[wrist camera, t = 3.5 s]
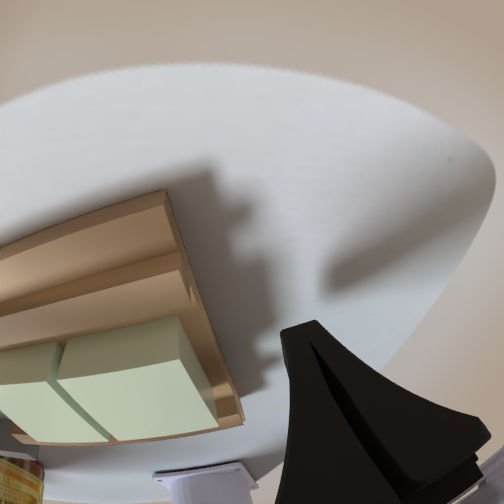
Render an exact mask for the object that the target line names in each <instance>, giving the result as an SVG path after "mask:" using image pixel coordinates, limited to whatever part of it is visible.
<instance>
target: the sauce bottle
mask: <svg viewBox="0 0 504 504" xmlns="http://www.w3.org/2000/svg"><path fill="white" fill-rule="evenodd" d="M44 475H45V472H44V469H43V467H42V466H41V465H39V464H38V463H37V462H35V461H34V460H27V459H19V458H13V457H7V456H1V455H0V504H42V500H43V491H44V483H43V480H44Z"/></svg>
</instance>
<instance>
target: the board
mask: <svg viewBox="0 0 504 504" xmlns="http://www.w3.org/2000/svg"><path fill="white" fill-rule="evenodd" d="M177 314H178V317H179V319H180V321H181V323H182V326H183V328H184V330H185V332H186V334H187V337H188V339H189V341H190V343H191V345H192V347H193V350H194V352H195V354H196V356H197V358H198V360H199V362H200V364H201V366H202V368H203V370H204V372H205V374H206V376H207V378H208V380H209V382H210V384H211V386H212V389H213V395H214V400H215V406H216V412H217V417H218V423H219V427H214V428H209V429H204V430H199V431H194V432H188V433H182V434H175V435H169V436H161V437H154V438H145V439H135V440H124V441H118V440H117V439H116V438H115V437H114V436H112V435H111V434H109V442H87V443H55V442H37V441H36V440H35V439H33V438H32V437H31V436H30V435H28V434H27V433H26V432H25V431H23V430H22V429H21V428H20V427H19V426H17V425H16V424H15V423H14V422H13V425H12V429H11V435H13V436H14V437H15V438H16V439H18V440H19V441H20V442H22V443H23V444H35V445H54V446H96V445H116V444H130V443H141V442H150V441H159V440H166V439H173V438H180V437H186V436H192V435H198V434H203V433H208V432H213V431H218V430H223V429H228V428H232V427H236V426H241V425H244V424H243V421H245V417H244V413H243V409H242V405H241V401H240V398H239V395H238V393H237V390H236V388H235V386H234V383H233V381H232V378H231V376H230V373H229V371H228V368H227V366H226V363H225V361H224V358H223V356H222V353H221V350H220V348H219V345H218V343H217V340H216V337H215V335H214V332H213V329H212V327H211V324H210V321H209V318H208V316H207V313H206V310H205V307H204V305H203V302H202V299H201V296H200V293H199V291H198V288H197V285H196V282H195V279H194V276H193V273H192V270H191V267H190V264H189V261H188V258H187V255H186V252H185V249H184V246H183V243H182V240H181V236H180V233H179V230H178V227H177V224H176V220H175V217H174V214H173V211H172V207H171V204H170V201H169V197H168V194H167V190H166V189H164V190H160V191H157V192H153V193H150V194H146V195H143V196H140V197H137V198H133V199H130V200H127V201H124V202H121V203H118V204H114V205H111V206H108V207H105V208H102V209H99V210H96V211H94V212H91V213H88V214H85V215H82V216H79V217H76V218H74V219H71V220H68V221H65V222H63V223H60V224H57V225H55V226H52V227H50V228H47V229H44V230H42V231H39V232H37V233H34V234H32V235H29V236H27V237H24V238H22V239H20V240H17V241H15V242H13V243H10V244H8V245H6V246H3V247H1V248H0V351H6V350H12V349H18V348H24V347H29V346H34V345H40V344H45V343H50V342H56V341H59V343H60V344H61V346H62V347H63V348H64V350H65V347H66V344H67V340H68V339H71V338H76V337H80V336H85V335H90V334H95V333H99V332H104V331H109V330H113V329H118V328H122V327H126V326H131V325H135V324H140V323H144V322H148V321H152V320H157V319H161V318H165V317H169V316H173V315H177Z"/></svg>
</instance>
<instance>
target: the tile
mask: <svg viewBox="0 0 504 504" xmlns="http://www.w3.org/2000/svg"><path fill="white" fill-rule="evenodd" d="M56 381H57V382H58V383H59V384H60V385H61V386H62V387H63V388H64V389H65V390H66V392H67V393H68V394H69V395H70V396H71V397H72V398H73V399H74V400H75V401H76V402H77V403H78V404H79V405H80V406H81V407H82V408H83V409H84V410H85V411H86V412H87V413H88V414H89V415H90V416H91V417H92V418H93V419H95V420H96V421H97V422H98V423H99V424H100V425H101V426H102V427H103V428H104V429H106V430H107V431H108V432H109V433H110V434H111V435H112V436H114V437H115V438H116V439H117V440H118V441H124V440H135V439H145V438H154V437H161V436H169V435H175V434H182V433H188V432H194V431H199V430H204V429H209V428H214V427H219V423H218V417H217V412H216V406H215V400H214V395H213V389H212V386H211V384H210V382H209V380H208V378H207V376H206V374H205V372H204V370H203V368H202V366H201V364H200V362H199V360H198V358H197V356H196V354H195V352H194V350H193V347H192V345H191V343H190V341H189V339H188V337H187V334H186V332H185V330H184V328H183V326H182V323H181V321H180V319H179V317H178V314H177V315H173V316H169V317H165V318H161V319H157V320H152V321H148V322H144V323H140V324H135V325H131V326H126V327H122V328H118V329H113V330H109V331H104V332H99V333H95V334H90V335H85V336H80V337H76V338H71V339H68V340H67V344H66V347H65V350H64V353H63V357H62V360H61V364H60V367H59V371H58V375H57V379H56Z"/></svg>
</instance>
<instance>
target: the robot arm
mask: <svg viewBox="0 0 504 504" xmlns="http://www.w3.org/2000/svg"><path fill="white" fill-rule="evenodd" d="M280 338H281V344H282V350H283V356H284V363H285V366H286V369H287V373H288V377H289V383H290V412H289V428H288V437H287V446H286V453H285V460H284V465H283V470H282V476H281V481H280V485H279V489H278V493H277V497H276V501H275V504H452V503H453V502H455V501H456V500H458V499H459V498H460V497H462V496H463V495H465V494H466V493H467V492H469V491H470V490H471V489H472V488H474V487H475V486H476V485H478V484H479V485H478V489H477V490H475V491H474V492H472V493H470V494H469V495H467V496H466V497H464V498H463V499H461V500H460V501H458V502H457V503H456V504H504V445H503V446H502V447H501V448H500V449H499V450H498V451H497V452H496V453H494V454H493V455H492V456H491V457H490V458H489V459H487V460H486V461H485V462H484V463H482V464H481V465H480V466H479V467H478V465H477V464H476V461H477V460H478V457H477V455H476V454H475V452H476V451H478V450H479V449H480V448H481V447H482V446H483V445H484V444H485V443H486V442H487V441H489V440H490V438H491V434H490V432H489V431H488V429H487V428H486V426H485V425H484V424H483V422H482V421H481V420H480V419H479V418H478V417H475V416H472V415H468V414H464V413H461V412H457V411H454V410H451V409H449V408H446V407H443V406H441V405H438V404H435V403H433V402H431V401H429V400H426V399H424V398H422V397H420V396H418V395H416V394H413V393H412V392H410V391H408V390H406V389H404V388H402V387H400V386H399V385H397V384H395V383H394V382H392V381H390V380H389V379H387V378H385V377H384V376H383V375H381V374H380V373H378V372H377V371H375V370H374V369H372V368H371V367H370V366H368V365H367V364H366V363H364V362H363V361H362V360H360V359H359V358H358V357H357V356H355V355H354V354H353V353H352V352H350V351H349V350H348V349H347V348H346V347H344V346H343V345H342V344H341V343H340V342H339V341H338V340H337V339H335V338H334V337H333V336H332V335H331V334H330V333H329V332H328V331H327V330H326V329H325V328H324V327H323V326H322V325H321V324H320V323H319V322H318V321H316V320H312V321H309V322H306V323H303V324H299V325H296V326H293V327H290V328H286V329H283V330H282V331H281V332H280ZM152 479H153V480H154V481H156V482H157V483H159V484H161V485H162V486H164V487H166V488H167V489H169V490H170V497H171V504H253V501H252V498H251V494H250V490H255V489H258V488H259V487H258V484H257V483H256V482H255V480H254V479H253V478H252V476H251V475H250V474H249V472H248V471H247V470H246V468H245V467H244V466H243V464H242V463H240V462H235V463H230V464H225V465H220V466H214V467H208V468H202V469H196V470H188V471H181V472H172V473H162V474H153V475H152Z"/></svg>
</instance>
